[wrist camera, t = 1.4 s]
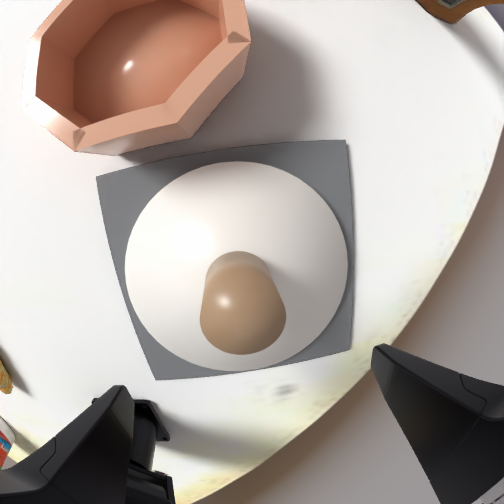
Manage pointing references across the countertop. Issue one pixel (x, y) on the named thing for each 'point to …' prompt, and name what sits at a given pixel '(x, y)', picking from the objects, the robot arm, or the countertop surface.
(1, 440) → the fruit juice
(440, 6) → the pancake mix bag
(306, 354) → the mat
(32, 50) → the bowl
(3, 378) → the croissant
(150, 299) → the lid
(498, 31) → the countertop surface
